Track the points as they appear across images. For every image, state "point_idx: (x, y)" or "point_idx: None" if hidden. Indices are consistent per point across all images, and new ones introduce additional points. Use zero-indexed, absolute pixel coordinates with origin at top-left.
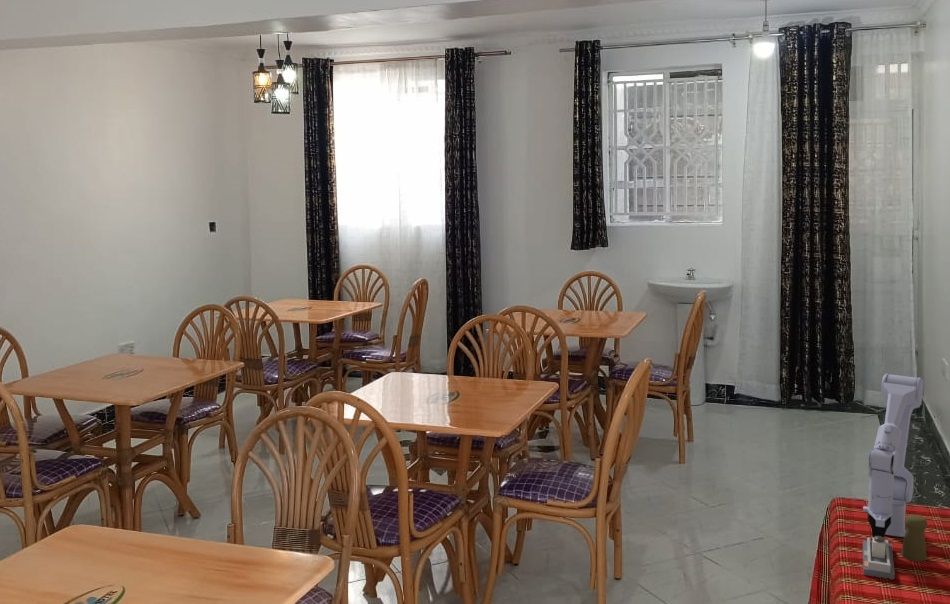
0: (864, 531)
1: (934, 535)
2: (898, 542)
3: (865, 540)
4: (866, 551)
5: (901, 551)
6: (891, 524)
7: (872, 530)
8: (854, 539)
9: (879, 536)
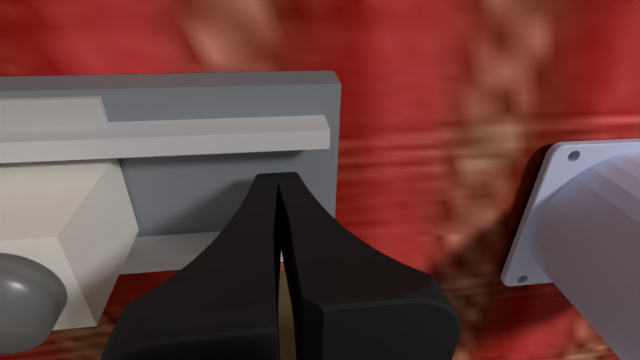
0: (583, 79)
1: (538, 353)
2: (438, 254)
3: (337, 103)
4: (84, 117)
5: (285, 285)
6: (573, 269)
7: (217, 239)
8: (431, 5)
9: (33, 317)
